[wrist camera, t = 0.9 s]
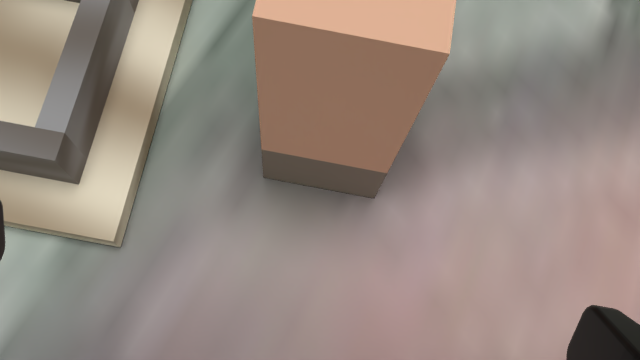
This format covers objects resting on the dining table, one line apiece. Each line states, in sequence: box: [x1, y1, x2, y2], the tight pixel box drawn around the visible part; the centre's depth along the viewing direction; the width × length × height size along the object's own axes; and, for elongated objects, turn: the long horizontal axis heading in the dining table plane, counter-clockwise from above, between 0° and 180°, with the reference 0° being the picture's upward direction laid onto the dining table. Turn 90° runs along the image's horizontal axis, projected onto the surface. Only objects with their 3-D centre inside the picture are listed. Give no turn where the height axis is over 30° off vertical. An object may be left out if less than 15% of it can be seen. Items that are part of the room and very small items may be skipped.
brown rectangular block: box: [252, 0, 456, 198], centre depth 19 cm, size 4×4×11 cm
